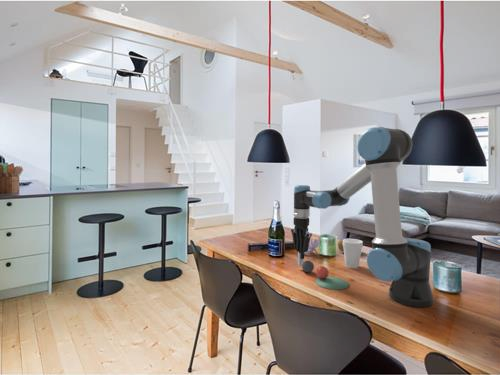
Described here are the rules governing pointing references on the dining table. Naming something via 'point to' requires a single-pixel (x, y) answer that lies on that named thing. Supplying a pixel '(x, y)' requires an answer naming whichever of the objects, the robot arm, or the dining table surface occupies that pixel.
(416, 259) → the robot arm
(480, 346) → the dining table surface
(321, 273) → the red ball
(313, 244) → the water lily
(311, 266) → the dark gray ball
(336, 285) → the green mark
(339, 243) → the potato
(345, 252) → the foam cup
